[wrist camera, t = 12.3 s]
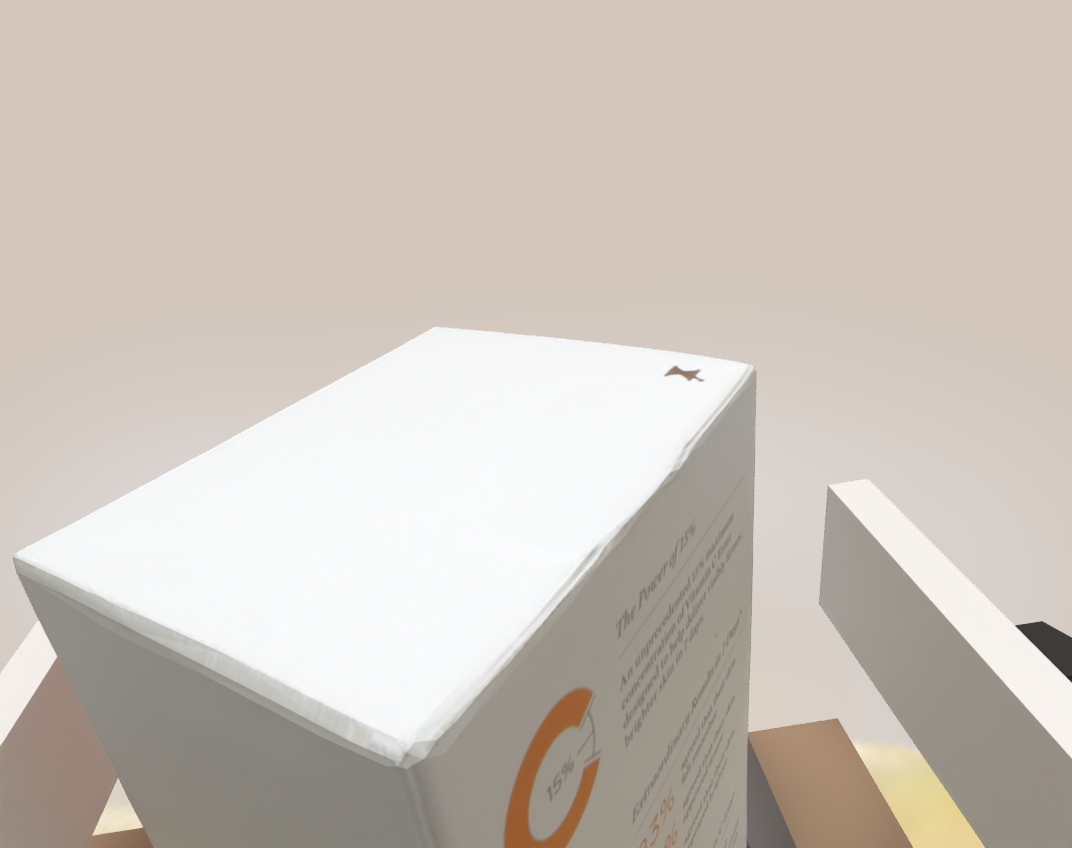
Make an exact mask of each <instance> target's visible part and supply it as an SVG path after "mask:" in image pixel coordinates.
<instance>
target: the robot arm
mask: <svg viewBox="0 0 1072 848" xmlns="http://www.w3.org/2000/svg"><path fill="white" fill-rule="evenodd" d="M819 605H820V606H821V607H822V609H823V610H824V612H825V613H826V615H827V616H828V618H829V619H830V621H831V622H832V624H833V625H834V627H835V628H836V629H837V631H838V632H839V634H840V635H841V637H842V638H843V640H844V641H845V643H846V644H847V645H848V647H849V648H850V650H851V651H852V653H853V654H854V656H855V657H856V659H857V660H858V661H859V663H860V664H861V666H862V667H863V669H864V670H865V672H866V673H867V675H868V676H869V678H870V679H871V681H872V682H873V684H874V685H875V686H876V688H877V690H878V691H879V692H880V694H881V695H882V697H883V698H884V700H885V701H886V702H887V704H888V706H889V707H890V709H891V710H892V711H893V713H894V714H895V716H896V717H897V719H898V720H899V722H900V723H901V725H902V726H903V727H904V729H905V730H906V732H907V733H908V735H909V736H910V738H911V739H912V741H913V742H914V744H915V745H916V747H917V748H918V750H919V751H920V752H921V754H922V755H923V757H924V758H925V760H926V761H927V763H928V764H929V766H930V767H931V769H932V770H933V771H934V773H935V774H936V776H937V777H938V779H939V780H940V782H941V783H942V785H943V786H944V788H945V789H946V790H947V792H948V793H949V795H950V796H951V798H952V799H953V801H954V802H955V804H956V805H957V807H958V808H959V810H960V811H961V812H962V814H963V815H964V817H965V818H966V820H967V821H968V823H969V824H970V826H971V827H972V829H973V830H974V831H975V833H976V834H977V836H978V837H979V839H980V840H981V842H982V843H983V845H984V846H985V848H1072V638H1071V637H1070V636H1068V635H1066V634H1064V633H1062V632H1061V631H1059V630H1057V629H1055V628H1053V627H1051V626H1050V625H1048V624H1046V623H1044V622H1042V621H1041V622H1035V623H1028V624H1022V625H1016V626H1014V624H1012V622H1011V621H1009V619H1007V617H1005V616H1004V614H1002V612H1000V611H999V609H998V608H997V607H995V606H994V605H993V603H992V602H991V601H990V600H989V599H987V598H986V597H985V595H983V594H982V592H980V590H979V589H978V588H977V587H975V586H974V584H973V583H971V582H970V580H968V578H967V577H966V576H965V575H964V574H963V573H962V572H960V570H958V569H957V568H956V566H954V565H953V563H952V562H951V561H950V560H949V559H948V558H947V557H946V556H945V555H944V554H943V553H942V552H941V551H940V550H939V549H938V548H937V547H936V546H935V545H934V544H933V543H932V542H930V540H929V539H928V538H927V537H926V536H925V535H924V534H923V533H922V532H921V531H920V530H919V529H917V527H916V526H915V525H914V524H913V523H911V521H910V520H909V519H908V518H907V517H906V516H905V515H904V514H903V513H902V512H900V510H898V508H897V507H896V506H895V505H894V504H893V503H892V502H891V501H890V500H889V499H888V498H887V497H886V496H885V495H884V494H883V493H882V492H881V491H880V490H879V489H878V488H877V487H876V486H874V484H873V483H872V482H871V481H870V480H868V479H865V480H858V481H851V482H845V483H838V484H831V485H828V490H827V503H826V517H825V530H824V544H823V558H822V571H821V584H820V597H819ZM117 778H118V776H117V773H116V771H115V770H114V768H113V766H112V764H111V762H110V760H109V758H108V756H107V754H106V752H105V750H104V748H103V746H102V744H101V742H100V740H99V738H98V736H97V734H96V732H95V730H94V728H93V726H92V724H91V722H90V720H89V718H88V716H87V714H86V712H85V710H84V708H83V706H82V704H81V702H80V700H79V698H78V696H77V694H76V692H75V690H74V688H73V686H72V684H71V682H70V680H69V678H68V677H67V675H66V673H65V671H64V669H63V667H62V665H61V663H60V661H59V659H58V657H57V655H56V653H55V651H54V649H53V647H52V645H51V643H50V641H49V639H48V637H47V635H46V634H45V631H44V629H43V627H42V625H41V623H40V621H39V620H38V621H37V623H36V624H35V626H34V627H33V628H32V630H31V631H30V633H29V634H28V636H27V637H26V638H25V640H24V641H23V643H22V644H21V645H20V647H19V648H18V650H17V651H16V652H15V654H14V655H13V657H12V658H11V659H10V661H9V662H8V664H7V665H6V666H5V668H4V669H3V671H2V672H1V673H0V848H87V846H88V843H89V841H90V839H91V837H92V834H93V832H94V830H95V828H96V825H97V823H98V821H99V819H100V816H101V814H102V812H103V810H104V808H105V805H106V803H107V801H108V798H109V796H110V794H111V792H112V790H113V787H114V785H115V783H116V781H117Z"/></svg>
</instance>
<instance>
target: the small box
mask: <svg viewBox="0 0 1072 848" xmlns="http://www.w3.org/2000/svg"><path fill="white" fill-rule="evenodd" d="M755 415H756V370H755V367H754V366H753V365H749V364H744V363H741V362H735V361H730V360H724V359H718V358H712V357H706V356H699V355H692V354H686V353H680V352H672V351H664V350H656V349H648V348H640V347H632V346H623V345H615V344H606V343H597V342H588V341H578V340H569V339H561V338H552V337H542V336H530V335H519V334H509V333H500V332H489V331H478V330H468V329H456V328H443V327H434V328H432V329H430V330H429V331H427V332H425V333H423V334H422V335H420V336H418V337H416V338H414V339H413V340H411V341H409V342H407V343H405V344H404V345H402V346H400V347H399V348H396V349H395V350H393V351H391V352H389V353H387V354H385V355H384V356H382V357H380V358H378V359H376V360H375V361H372V362H371V363H369V364H367V365H365V366H363V367H361V368H359V369H358V370H356V371H354V372H352V373H350V374H349V375H347V376H345V377H343V378H341V379H339V380H337V381H336V382H334V383H332V384H330V385H328V386H326V387H325V388H323V389H321V390H319V391H317V392H315V393H313V394H311V395H310V396H308V397H306V398H304V399H302V400H300V401H298V402H297V403H295V404H293V405H291V406H289V407H287V408H286V409H284V410H282V411H280V412H278V413H276V414H274V415H273V416H271V417H269V418H267V419H265V420H263V421H262V422H260V423H258V424H256V425H254V426H253V427H251V428H249V429H247V430H245V431H243V432H241V433H240V434H238V435H236V436H234V437H233V438H231V439H229V440H227V441H225V442H223V443H221V444H219V445H218V446H216V447H214V448H212V449H210V450H209V451H207V452H205V453H203V454H201V455H199V456H198V457H196V458H194V459H192V460H190V461H188V462H186V463H185V464H182V465H181V466H179V467H177V468H175V469H173V470H171V471H169V472H167V473H165V474H164V475H162V476H160V477H158V478H156V479H154V480H152V481H151V482H149V483H147V484H145V485H143V486H141V487H140V488H138V489H136V490H134V491H132V492H130V493H128V494H126V495H124V496H123V497H121V498H119V499H117V500H115V501H113V502H111V503H110V504H108V505H106V506H104V507H102V508H100V509H99V510H97V511H95V512H93V513H91V514H89V515H88V516H85V517H84V518H82V519H80V520H78V521H76V522H74V523H72V524H70V525H68V526H67V527H65V528H63V529H61V530H59V531H57V532H55V533H53V534H51V535H49V536H47V537H45V538H43V539H42V540H39V541H38V542H36V543H34V544H32V545H30V546H28V547H26V548H24V549H22V550H20V551H18V552H17V553H16V554H15V555H14V557H13V561H14V565H15V569H16V572H17V574H18V576H19V579H20V581H21V583H22V585H23V587H24V589H25V591H26V593H27V596H28V597H29V600H30V602H31V604H32V606H33V609H34V611H35V613H36V615H37V617H38V619H39V621H40V623H41V625H42V627H43V629H44V631H45V634H46V635H47V637H48V639H49V641H50V643H51V645H52V647H53V649H54V651H55V653H56V655H57V657H58V659H59V661H60V663H61V665H62V667H63V669H64V671H65V673H66V675H67V677H68V678H69V680H70V682H71V684H72V686H73V688H74V690H75V692H76V694H77V696H78V698H79V700H80V702H81V704H82V706H83V708H84V710H85V712H86V714H87V716H88V718H89V720H90V722H91V724H92V726H93V728H94V730H95V732H96V734H97V736H98V738H99V740H100V742H101V744H102V746H103V748H104V750H105V752H106V754H107V756H108V758H109V760H110V762H111V764H112V766H113V768H114V770H115V771H116V773H117V776H118V778H119V780H120V782H121V784H122V786H123V788H124V791H125V793H126V795H127V797H128V799H129V801H130V803H131V805H132V807H133V808H134V810H135V812H136V814H137V816H138V818H139V820H140V822H141V824H142V825H143V828H144V830H145V832H146V834H147V836H148V838H149V840H150V842H151V844H152V846H153V848H747V745H748V708H749V707H748V706H749V705H748V704H749V677H750V653H751V615H752V576H753V572H752V571H753V517H754V516H753V515H754V473H755V472H754V471H755V417H756V416H755Z"/></svg>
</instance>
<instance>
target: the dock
mask: <svg viewBox="0 0 1072 848" xmlns="http://www.w3.org/2000/svg"><path fill="white" fill-rule="evenodd" d="M87 848H153V846H152V844H151V842H150V840H149V838H148V836H147V834H146V832H145V830H144V828H139V829H133V830H126V831H120V832H114V833H107V834H101V835H95V836H92V837H91V839H90V841H89V843H88V846H87ZM747 848H913V847H912V845H911V843H910V842H909V840H908V838H907V836H906V835H905V833H904V831H903V830H902V828H901V826H900V824H899V823H898V821H897V819H896V818H895V816H894V814H893V812H892V811H891V809H890V807H889V806H888V804H887V802H886V800H885V799H884V797H883V795H882V794H881V792H880V790H879V789H878V787H877V785H876V783H875V782H874V780H873V778H872V777H871V775H870V773H869V771H868V770H867V768H866V766H865V765H864V763H863V761H862V759H861V758H860V756H859V754H858V753H857V751H856V749H855V747H854V746H853V744H852V742H851V741H850V739H849V737H848V735H847V734H846V732H845V731H844V729H843V727H842V725H841V724H840V722H839V720H838V719H831V720H826V721H819V722H813V723H806V724H799V725H793V726H787V727H781V728H774V729H768V730H762V731H755V732H749V733H748V745H747Z"/></svg>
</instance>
